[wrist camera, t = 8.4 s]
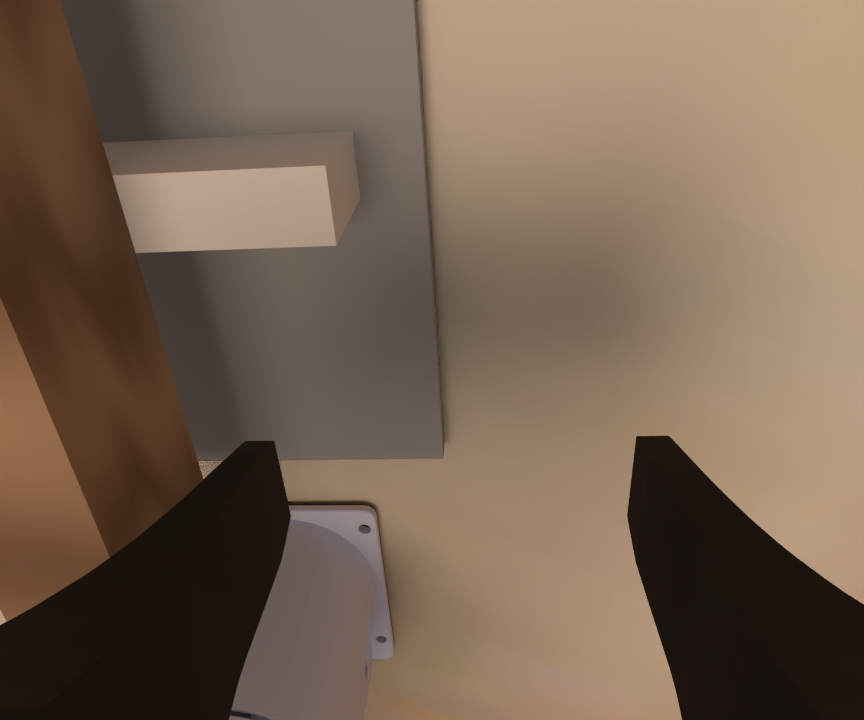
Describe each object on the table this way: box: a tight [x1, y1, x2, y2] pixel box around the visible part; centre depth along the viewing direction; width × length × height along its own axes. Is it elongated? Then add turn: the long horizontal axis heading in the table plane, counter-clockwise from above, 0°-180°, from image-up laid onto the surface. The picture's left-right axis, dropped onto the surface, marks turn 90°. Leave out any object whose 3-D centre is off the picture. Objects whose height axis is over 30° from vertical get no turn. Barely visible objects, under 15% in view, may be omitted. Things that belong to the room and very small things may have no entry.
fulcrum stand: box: [60, 0, 445, 461], centre depth 19 cm, size 22×18×5 cm
